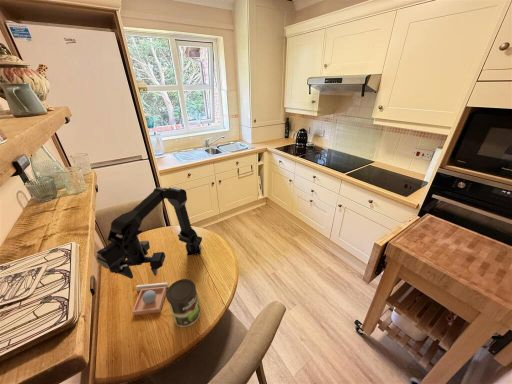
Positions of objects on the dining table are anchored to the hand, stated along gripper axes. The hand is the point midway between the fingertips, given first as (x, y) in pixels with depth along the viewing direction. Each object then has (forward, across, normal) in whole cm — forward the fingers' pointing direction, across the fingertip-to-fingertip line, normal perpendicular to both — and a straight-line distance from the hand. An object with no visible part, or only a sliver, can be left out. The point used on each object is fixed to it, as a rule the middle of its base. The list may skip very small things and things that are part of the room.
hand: (144, 276), depth 86 cm
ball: (+11, -1, +4) cm, 12 cm away
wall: (+12, 0, -3) cm, 12 cm away
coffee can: (+12, -17, +11) cm, 23 cm away
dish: (+12, -1, +4) cm, 12 cm away
